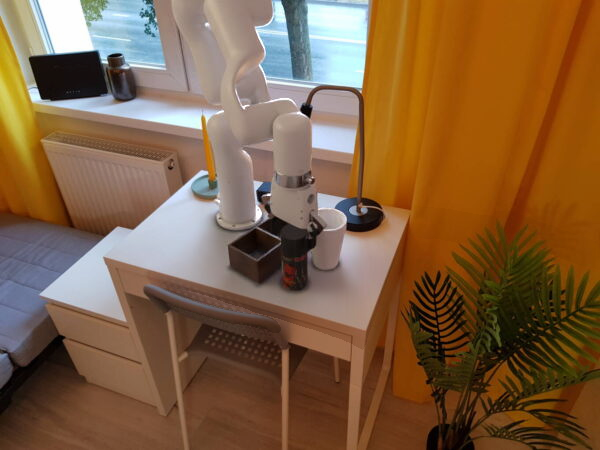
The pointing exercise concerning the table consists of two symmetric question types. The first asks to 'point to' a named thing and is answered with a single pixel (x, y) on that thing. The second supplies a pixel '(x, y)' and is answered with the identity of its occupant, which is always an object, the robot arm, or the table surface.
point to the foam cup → (329, 239)
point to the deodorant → (294, 258)
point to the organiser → (250, 243)
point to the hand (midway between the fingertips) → (293, 240)
